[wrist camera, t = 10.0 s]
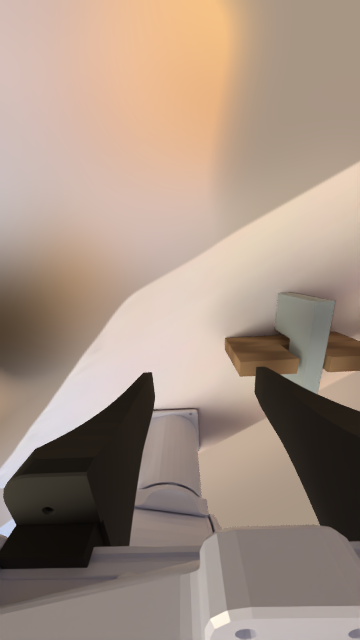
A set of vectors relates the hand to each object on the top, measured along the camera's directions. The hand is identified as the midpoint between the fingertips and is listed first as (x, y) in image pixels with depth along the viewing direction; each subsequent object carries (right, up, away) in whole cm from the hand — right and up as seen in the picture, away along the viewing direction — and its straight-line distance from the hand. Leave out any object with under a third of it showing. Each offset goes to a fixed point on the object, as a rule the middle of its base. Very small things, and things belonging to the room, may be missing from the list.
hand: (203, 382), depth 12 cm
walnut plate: (+11, +2, +10) cm, 15 cm away
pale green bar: (+11, +2, +10) cm, 15 cm away
